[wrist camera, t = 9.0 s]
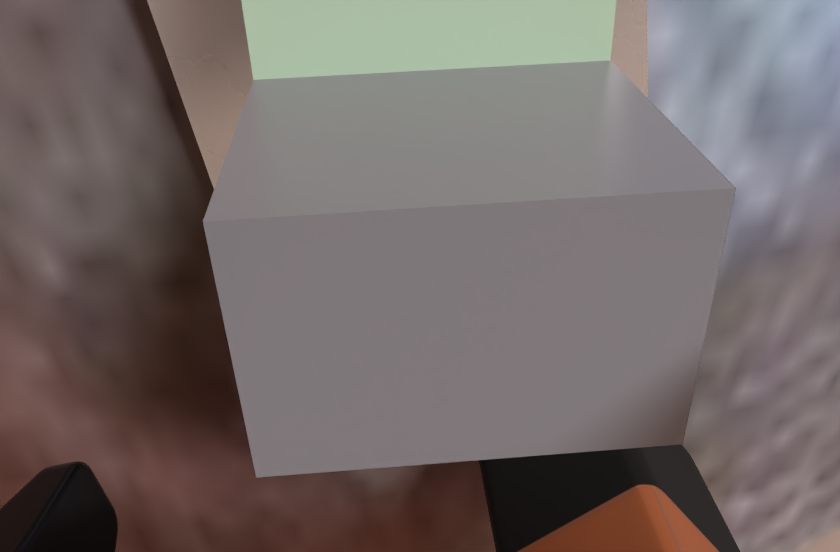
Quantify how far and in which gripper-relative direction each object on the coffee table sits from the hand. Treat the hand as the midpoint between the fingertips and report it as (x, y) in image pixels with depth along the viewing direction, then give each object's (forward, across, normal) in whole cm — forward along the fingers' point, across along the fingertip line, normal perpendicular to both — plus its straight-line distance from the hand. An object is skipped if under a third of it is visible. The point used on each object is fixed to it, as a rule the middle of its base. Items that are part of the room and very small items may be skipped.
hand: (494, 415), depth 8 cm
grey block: (+7, 0, 0) cm, 7 cm away
